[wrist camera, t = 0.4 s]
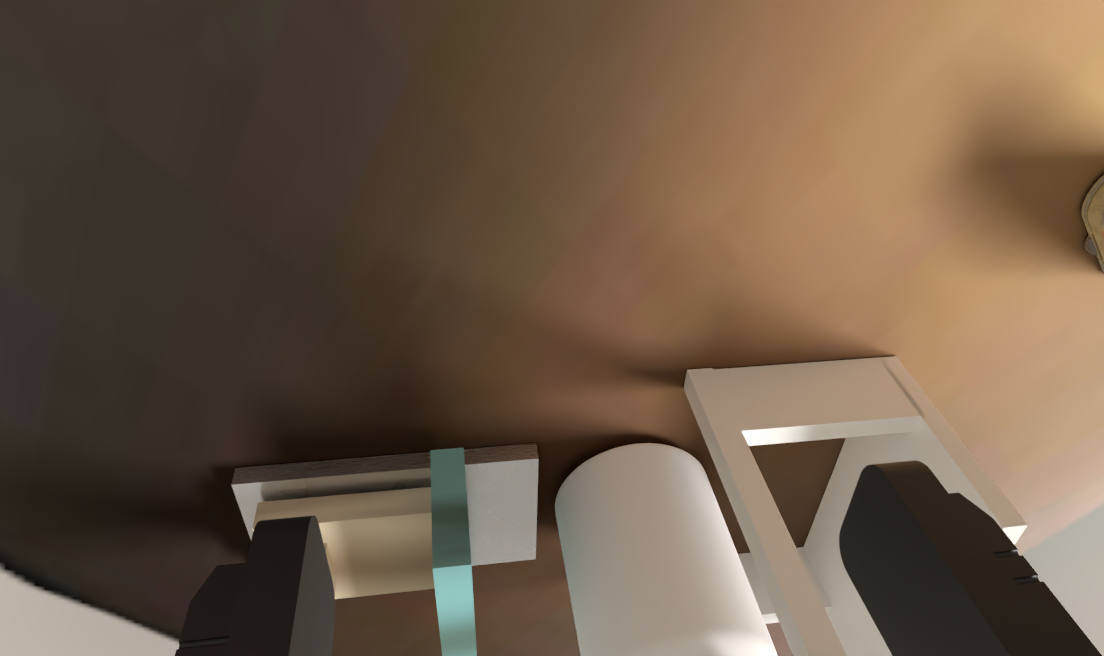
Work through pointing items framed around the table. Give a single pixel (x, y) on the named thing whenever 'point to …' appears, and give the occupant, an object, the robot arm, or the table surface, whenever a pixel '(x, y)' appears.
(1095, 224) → the lighter
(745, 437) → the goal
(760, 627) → the beverage can
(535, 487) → the white flat board
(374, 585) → the kicker rod
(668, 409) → the table surface
